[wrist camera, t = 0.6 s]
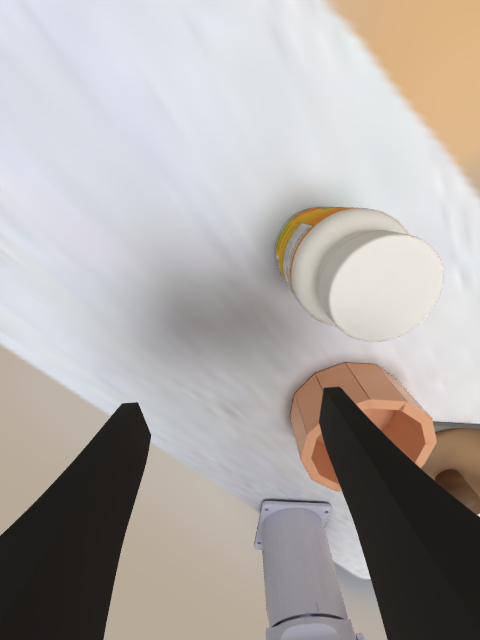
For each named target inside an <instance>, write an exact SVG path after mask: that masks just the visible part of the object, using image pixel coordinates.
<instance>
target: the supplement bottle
mask: <svg viewBox="0 0 480 640" xmlns="http://www.w3.org/2000/svg"><path fill="white" fill-rule="evenodd" d="M275 259H276V264H277V267H278V269H279V271H280V273H281V275H282V276H283V278H284V279H285V281H286V283H287V284H288V286H289V287H290V289H291V290H292V292H293V294H294V295H295V297H296V298H297V300H298V302H299V303H300V304H301V306H302V307H303V308H304V309H305V310H306V312H308V313H309V314H310V315H311V316H312V317H314V318H315V319H317V320H319V321H321V322H323V323H325V324H328V325H332V326H337V327H338V328H339V329H340V330H341V331H343V332H344V333H345V334H347V335H348V336H350V337H352V338H355V339H358V340H361V341H367V342H380V341H386V340H390V339H393V338H396V337H399V336H401V335H403V334H405V333H407V332H409V331H410V330H412V329H413V328H415V327H416V326H417V325H419V324H420V323H421V322H422V321H423V320H424V319H425V318H426V317H427V316H428V314H429V313H430V312H431V311H432V309H433V308H434V306H435V304H436V303H437V301H438V299H439V296H440V293H441V290H442V285H443V267H442V263H441V260H440V258H439V256H438V254H437V253H436V251H435V250H434V249H433V248H432V247H431V246H430V245H429V244H428V243H426V242H425V241H423V240H422V239H420V238H418V237H415V236H411V235H409V233H408V232H407V230H406V229H405V228H404V227H403V225H402V224H401V223H400V222H399V221H397V220H396V219H395V218H393V217H392V216H390V215H388V214H386V213H384V212H381V211H377V210H373V209H366V208H343V207H314V208H309V209H306V210H303V211H301V212H299V213H297V214H296V215H294V216H293V217H292V218H291V219H290V220H289V221H288V222H287V223H286V224H285V225H284V227H283V228H282V230H281V231H280V233H279V235H278V238H277V241H276V245H275Z"/></svg>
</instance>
